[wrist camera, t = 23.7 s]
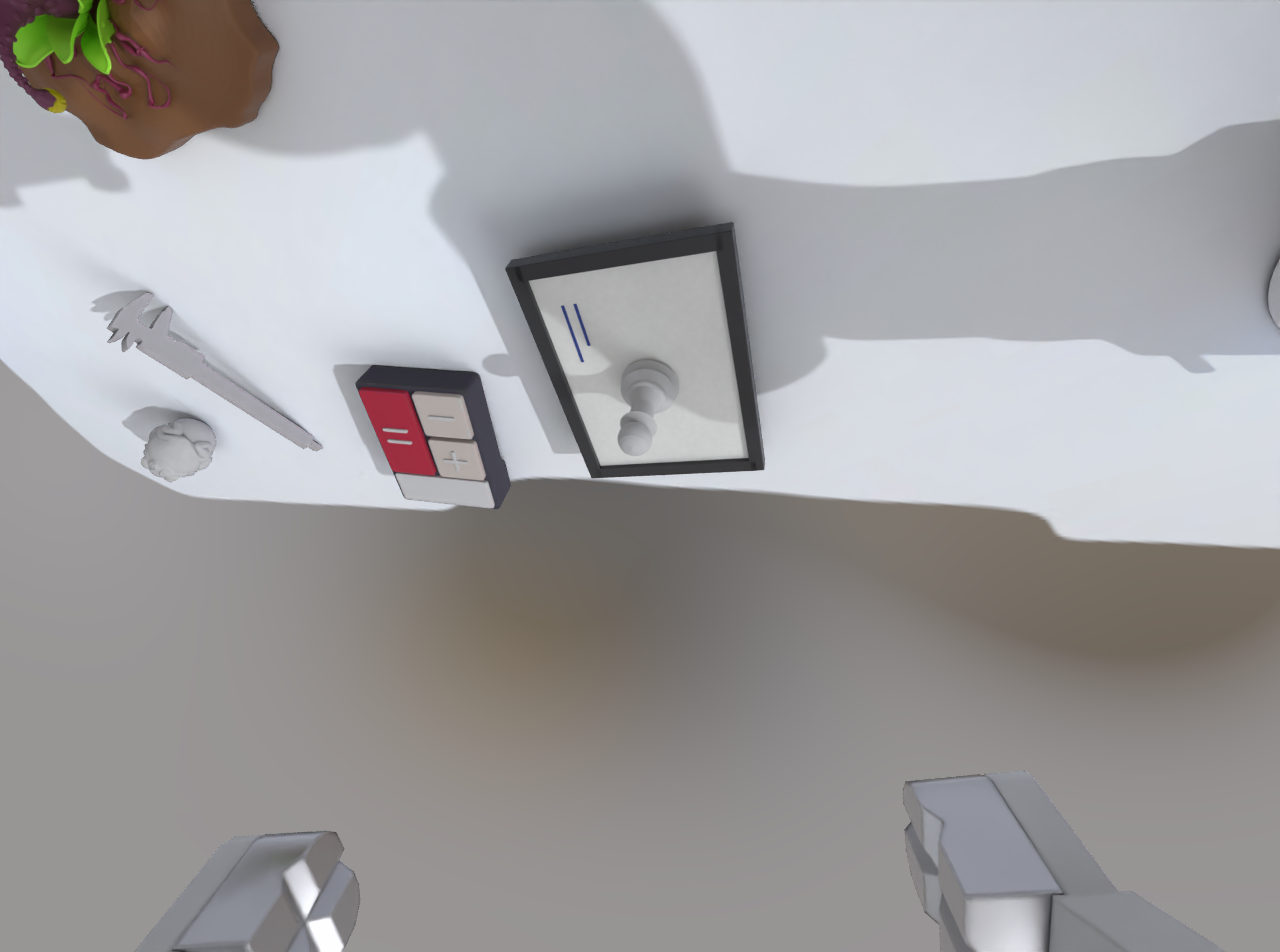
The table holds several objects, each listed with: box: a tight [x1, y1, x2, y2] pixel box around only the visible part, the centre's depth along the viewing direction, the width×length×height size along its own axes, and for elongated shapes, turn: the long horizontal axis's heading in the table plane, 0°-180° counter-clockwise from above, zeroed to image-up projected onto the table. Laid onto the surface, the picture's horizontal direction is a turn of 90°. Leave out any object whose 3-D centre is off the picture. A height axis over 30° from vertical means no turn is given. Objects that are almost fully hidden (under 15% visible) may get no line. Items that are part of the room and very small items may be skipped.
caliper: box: [107, 293, 322, 451], centre depth 58 cm, size 20×1×6 cm, turn 28°
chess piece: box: [617, 360, 679, 456], centre depth 44 cm, size 5×5×8 cm
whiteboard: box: [505, 222, 765, 478], centre depth 48 cm, size 16×21×3 cm
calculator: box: [356, 366, 511, 509], centre depth 58 cm, size 11×4×15 cm
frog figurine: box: [141, 419, 216, 482], centre depth 64 cm, size 6×7×7 cm
